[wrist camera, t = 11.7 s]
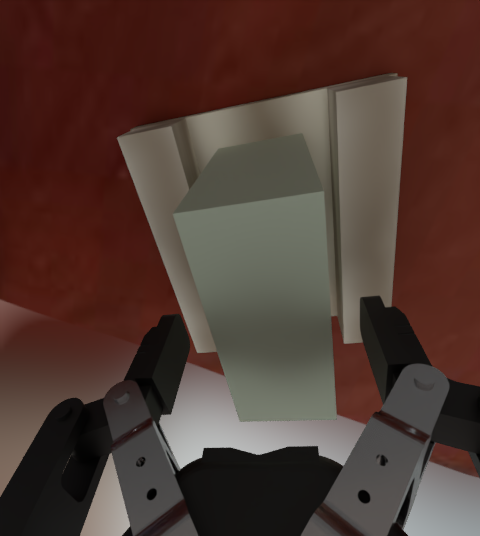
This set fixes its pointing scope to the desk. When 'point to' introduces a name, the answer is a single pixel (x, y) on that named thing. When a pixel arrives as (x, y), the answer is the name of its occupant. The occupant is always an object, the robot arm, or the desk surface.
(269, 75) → the desk surface
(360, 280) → the rack
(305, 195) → the rectangular block
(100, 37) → the desk surface
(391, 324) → the robot arm
